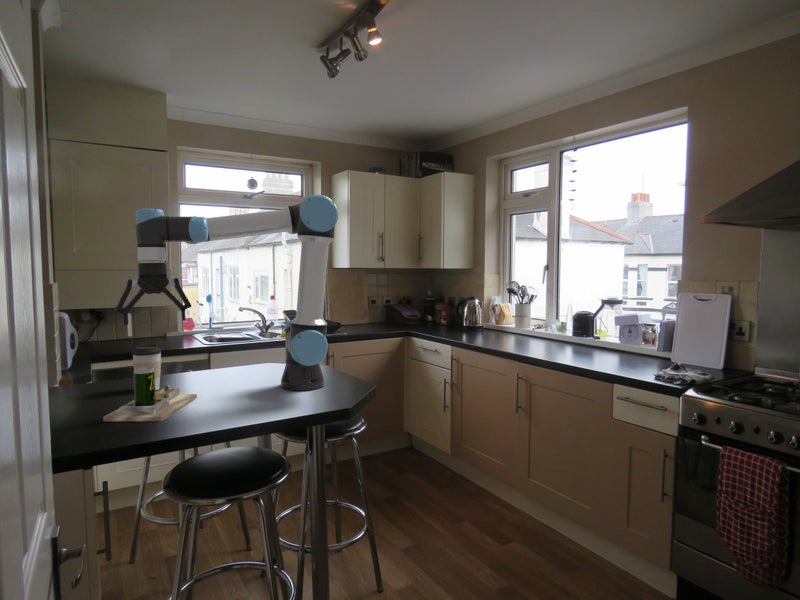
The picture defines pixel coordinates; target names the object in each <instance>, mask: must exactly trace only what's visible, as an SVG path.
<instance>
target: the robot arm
mask: <svg viewBox="0 0 800 600" xmlns="http://www.w3.org/2000/svg"><path fill="white" fill-rule="evenodd" d="M164 212H165V211H164V210H163V209H159V208H139V209H137V210H136V211H135V231H136V232H135V233H136V234H135V235H136V236H135V237H136V249H137V261H138V262H139V263H138V264H137V270H138V271H137V272H138V273H137V274H138V278H137V279H132V278H128V279H126V282H125V283H126V284H125V288H124V290H123V291H122V295H121V296H120V297H119V301H118V302H117V304H116V306H115V308H114V310H115V311H116V312H117V313H120V314H122V323H123V325H124V326H127V336H128V337H129V338H130V337H133V331H132V329H133V328H132V327H133V326H132V314H131V313H129V312H130V311H131V310H132V308H133V307H134V306H135V305H136V304H137V302H138V301H140V299H141V298H142V297H143V296H144V295H145V294H147V295H152V294H156V295H158V294H159V295H160V294H161V293H163V294H164V295H165V296H166V297H167V298H168V299H169V300H171V302H172V303H173V304H174V305H175V306H177V308H178V310H176V316H177V317H176V318H177V332H178V333H183V322H184V321H186V311H187V309H190V308H192V304H191V302H190V300H189V299H188V297H187V295H186V294H185V292H184V290H183V289H182V286H181V285H180V280H179V277H173V278H168V275H167V274H168V273H167V272H168V271H167V269H168V268H167V263H166V261H167V252H166V242H167V243H171V242H172V243H175V242H176V243H178V242H179V243H185V244H188V245H195V244H196V245H197V244H199V243H200V244H201V243H205V242H213V241H221V240H222V241H223V240H228V239H229V240H230V239H239V238H246V237H252V236H253V237H254V236H255V237H256V236H263V235H271V234H272V235H273V234H280V233H286V232H287V233H288V234H290V235H297V238H298V239H299V241H300V242H301V247H300V248H301V249H300V263H299V271H298V272H299V274H298V289H297V300H296V302H297V303H296V314H295V317H294V318H293V319H292V320H291V321H286V323H285V324H284V332H285V333H284V335H285V341H284V342H285V343H284V344H285V366H284V369H283V373H282V376H281V379H280V387H281V389H284V390H286V389H287V391H295V390H297V391H299V392H300V391H303V392H304V391H312V390H311V389H313V390H318V389H320V387H321V388H322V386H323V387H325V385H324V384H325V383H326V382H325V381H326V380H325V376H324V373H323V370H322V367H321V364H320V363H321V362H322V361H323V360H324V359H325V358H326V355H327V354H328V350H329V343H328V339H327V332H328V331H327V330H328V323H327V321H326V320H325V319H324V311H325V294H326V284H327V271H328V257H329V247H330V244H331V243H332V242H334V240H335V228H336V224H337V223H338V220H339V210H338V206H337V205H336V203H335V202H334V200H332V199H331V198H330V197H328V196H327V195H322V194H313V195H310V196H308V197H306V198H305V199H304V200H302V202H300V203H297V204H294V205H293V204H292V205H287V206H285V207H284V209H277V210H269V211H268V210H267V211H259V212H249V213H248V212H247V213H241V214H232V215H223V216H222V215H221V216H213V217H204V216H196V215H193V216H169V215H165V214H164ZM169 283H170V285H171V286H174V288H175V291H176V292H177V294H178V295H179V297H180V299H181V301H182V302H183V304H182V303H181V302H180V300H178V298H176V296H174V295H173V294H172V293H171V292H170V290H168V289H167V287H168V285H169ZM135 285H138V287H139V288H140V289H139V290H138V291H137V292H136V294H135V295H134V296H133V297H132V298H131V300H130V301H129V302H128V303H127V304H126V306H124V305H125V303H126V301H127V299H128V297H129V294H130V292H131V290H132V288H134V287H135ZM123 307H124V308H123ZM317 388H318V389H317ZM297 391H296V392H297Z"/></svg>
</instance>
